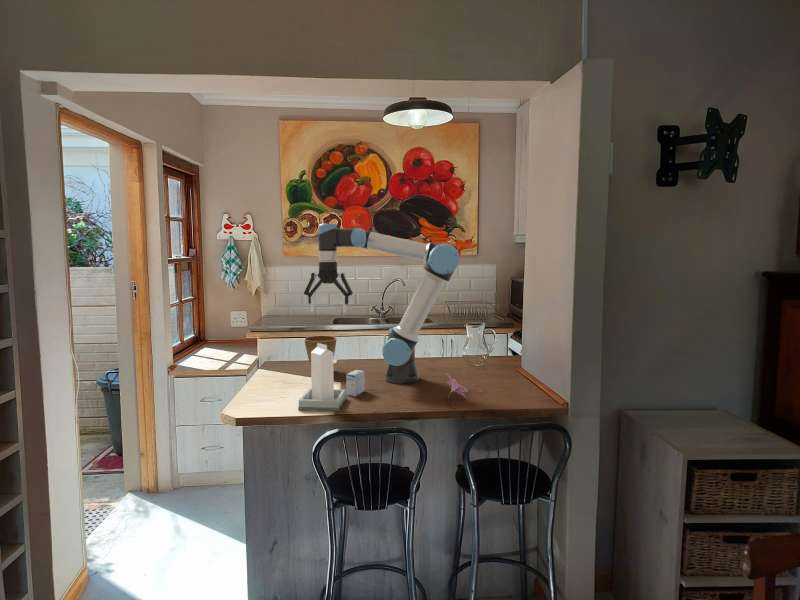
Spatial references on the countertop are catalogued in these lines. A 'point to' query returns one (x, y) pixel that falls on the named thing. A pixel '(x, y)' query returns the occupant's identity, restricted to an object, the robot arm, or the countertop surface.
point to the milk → (322, 373)
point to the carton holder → (322, 401)
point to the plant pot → (326, 340)
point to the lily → (456, 386)
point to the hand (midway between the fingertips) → (328, 311)
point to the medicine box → (355, 382)
